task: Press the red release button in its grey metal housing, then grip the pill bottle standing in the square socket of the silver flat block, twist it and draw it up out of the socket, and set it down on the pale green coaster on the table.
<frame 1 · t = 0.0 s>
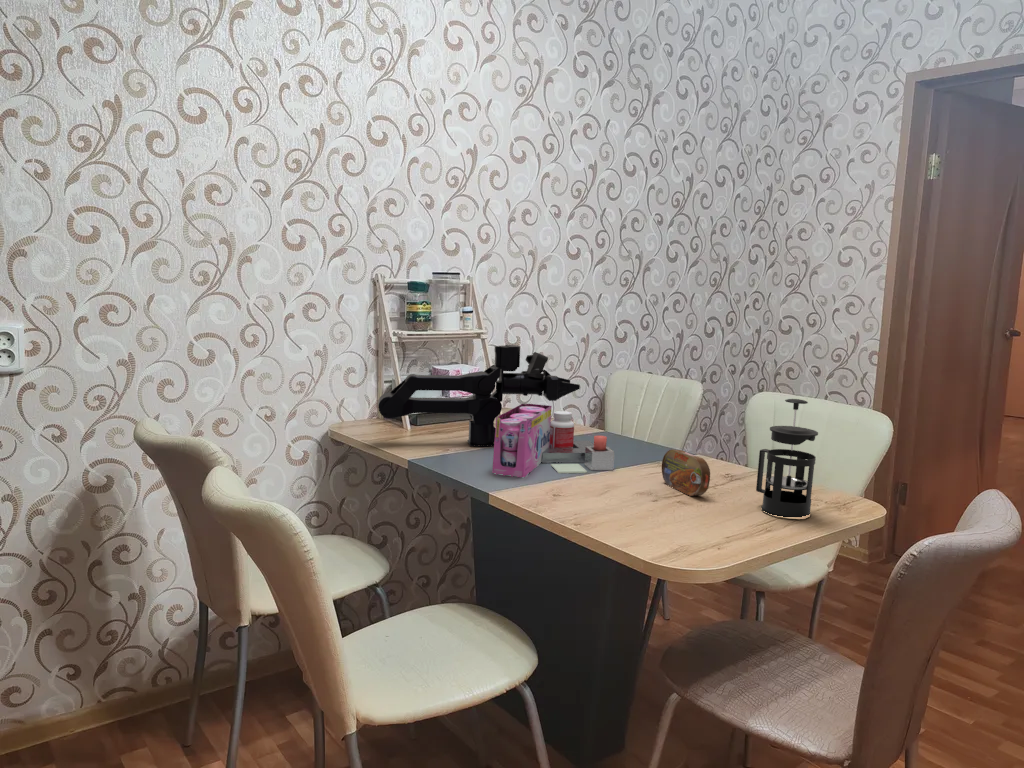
hand: (574, 384, 196), 17 cm above the table, tool horizontal, fingers open, 9 cm apart
pill bottle: (560, 455, 185), resting in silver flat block
housing: (598, 467, 174), on the table
tin: (684, 491, 157), on the table
gum box: (521, 467, 174), on the table, touching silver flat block
button: (600, 442, 173), point 6 cm above the table, slide at 0.0 cm
french press: (783, 512, 144), on the table
pad: (568, 469, 171), on the table
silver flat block: (566, 456, 183), on the table
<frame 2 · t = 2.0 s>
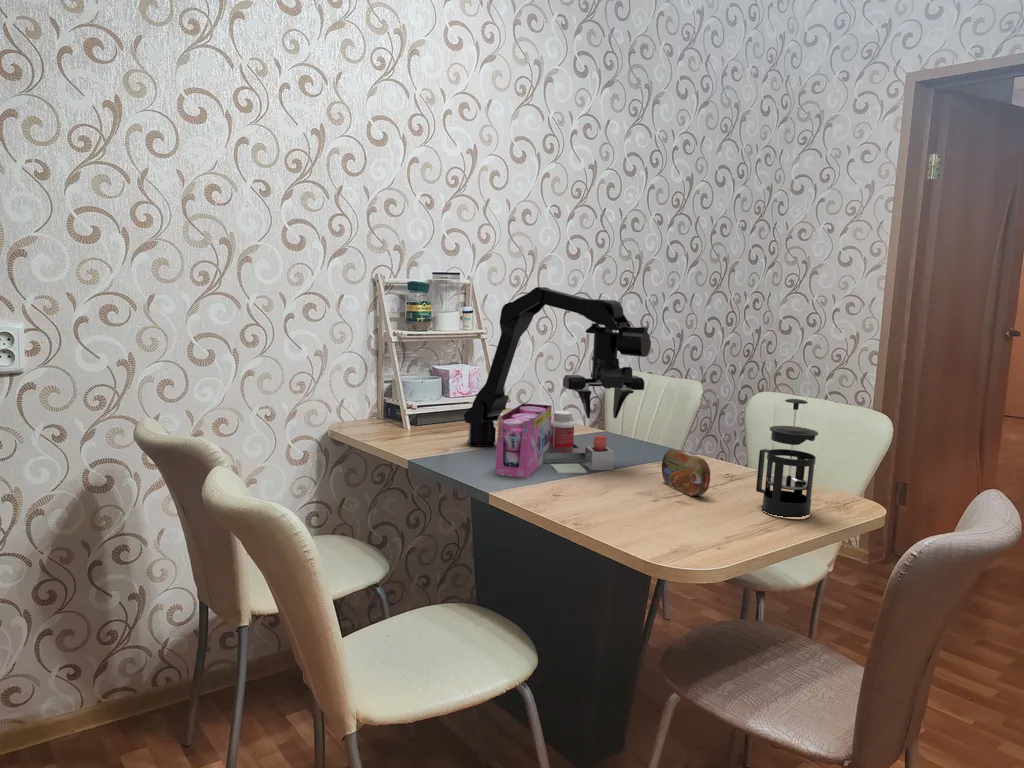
hand: (601, 418, 172), 12 cm above the table, tool pointing down, fingers open, 6 cm apart
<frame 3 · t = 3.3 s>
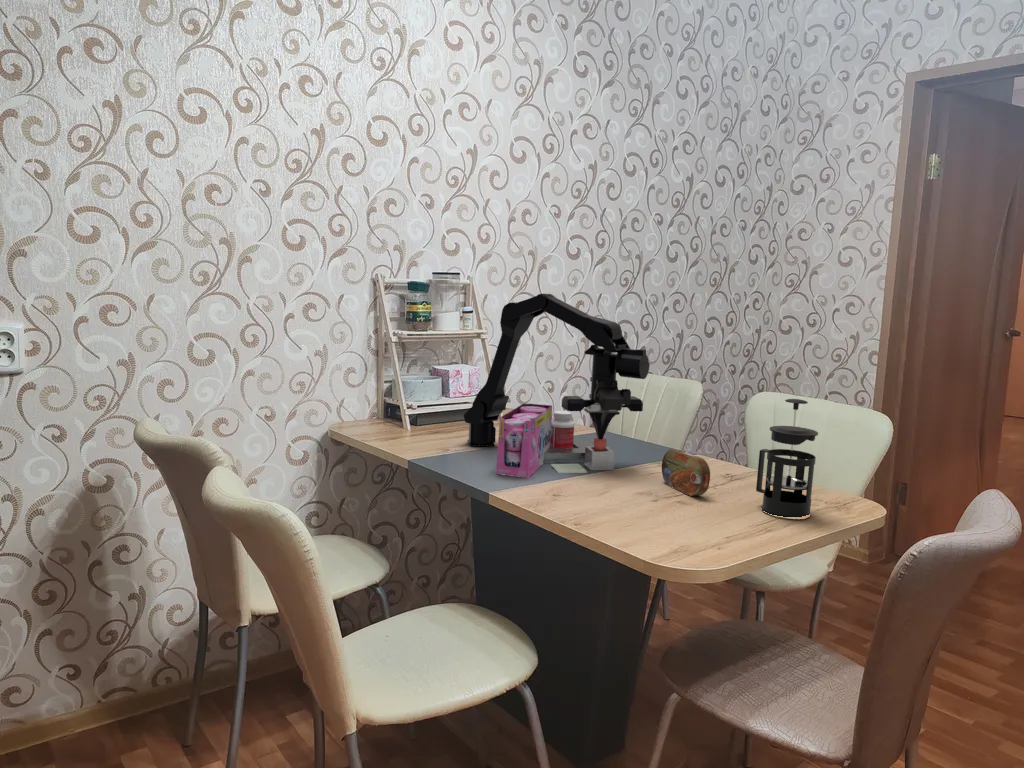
hand: (600, 438, 173), 7 cm above the table, tool pointing down, fingers closed, pressing on button
button: (600, 445, 173), point 5 cm above the table, slide at 0.5 cm, touching gripper
everything else where it was.
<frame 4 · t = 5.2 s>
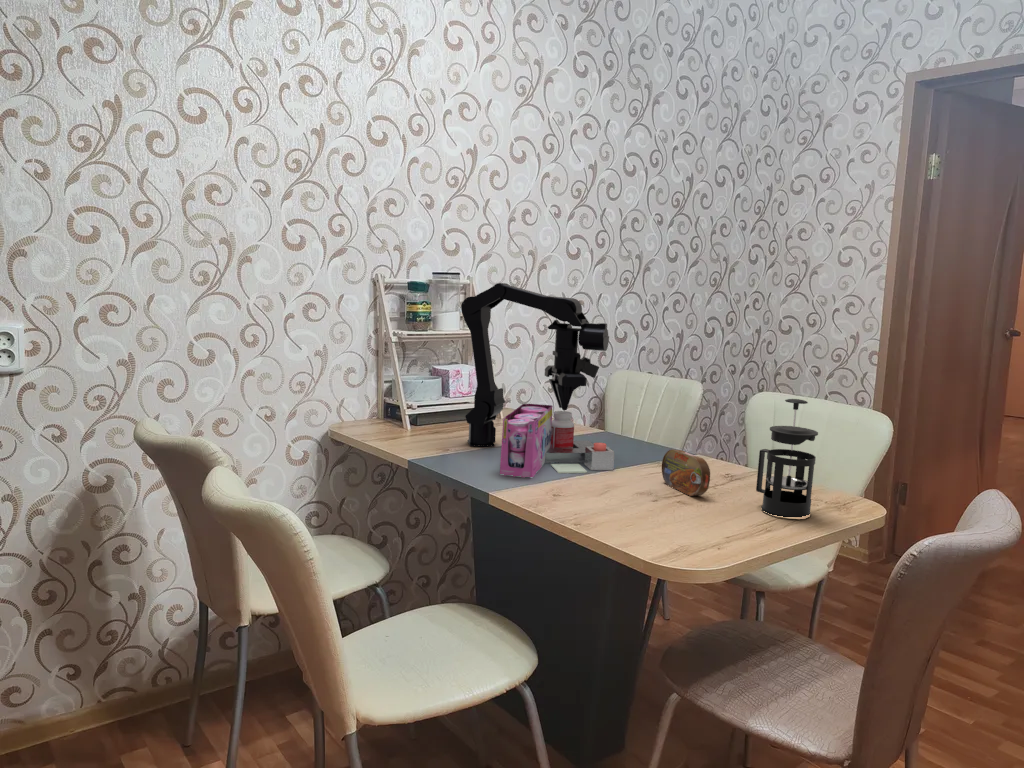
hand: (563, 408, 183), 12 cm above the table, tool pointing down, fingers open, 3 cm apart
button: (599, 450, 173), point 4 cm above the table, slide at 1.7 cm
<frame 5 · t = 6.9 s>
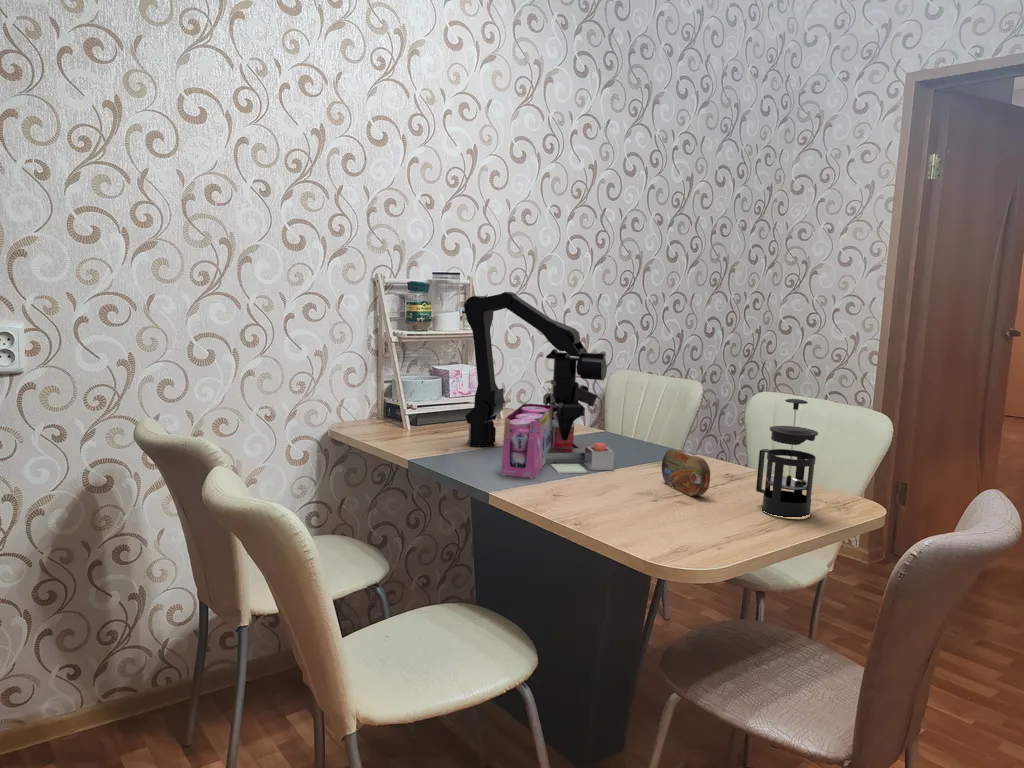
hand: (561, 437, 184), 5 cm above the table, tool pointing down, fingers closed on pill bottle, 6 cm apart
pill bottle: (560, 455, 185), resting in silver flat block, touching gripper
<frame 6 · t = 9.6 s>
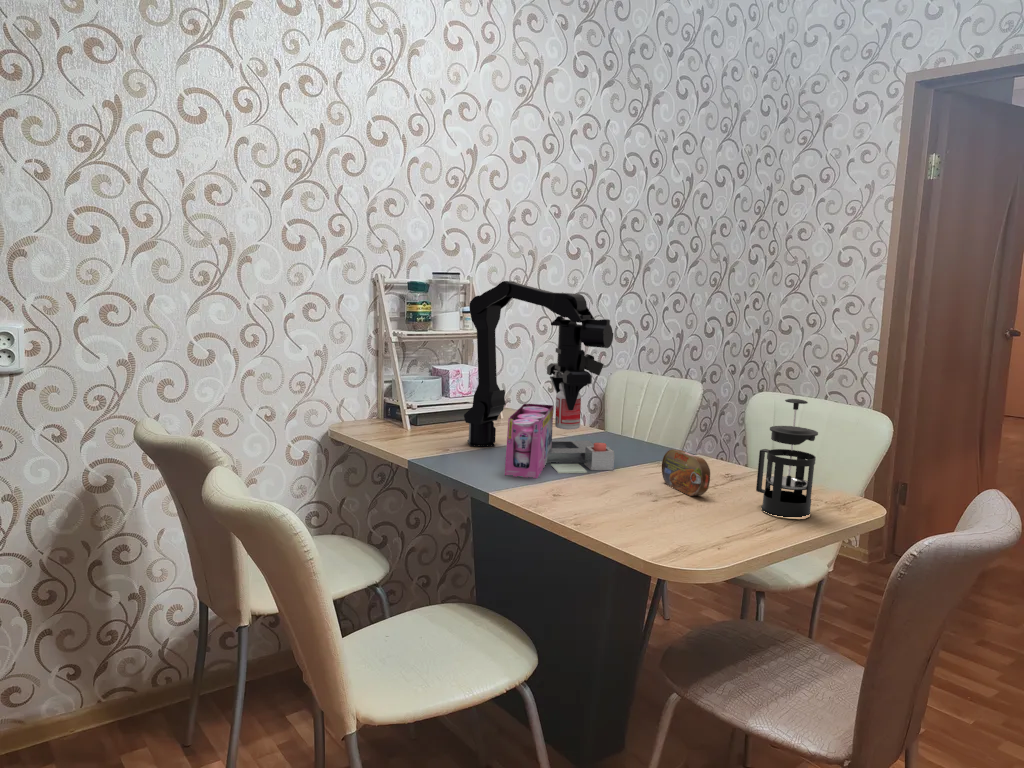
hand: (566, 407, 178), 13 cm above the table, tool pointing down, fingers closed on pill bottle, 6 cm apart
pill bottle: (567, 428, 179), point 8 cm above the table, touching gripper
when the fingers open (6 cm above the table, at t = 12.4 s): pill bottle stays where it is, resting on pad.
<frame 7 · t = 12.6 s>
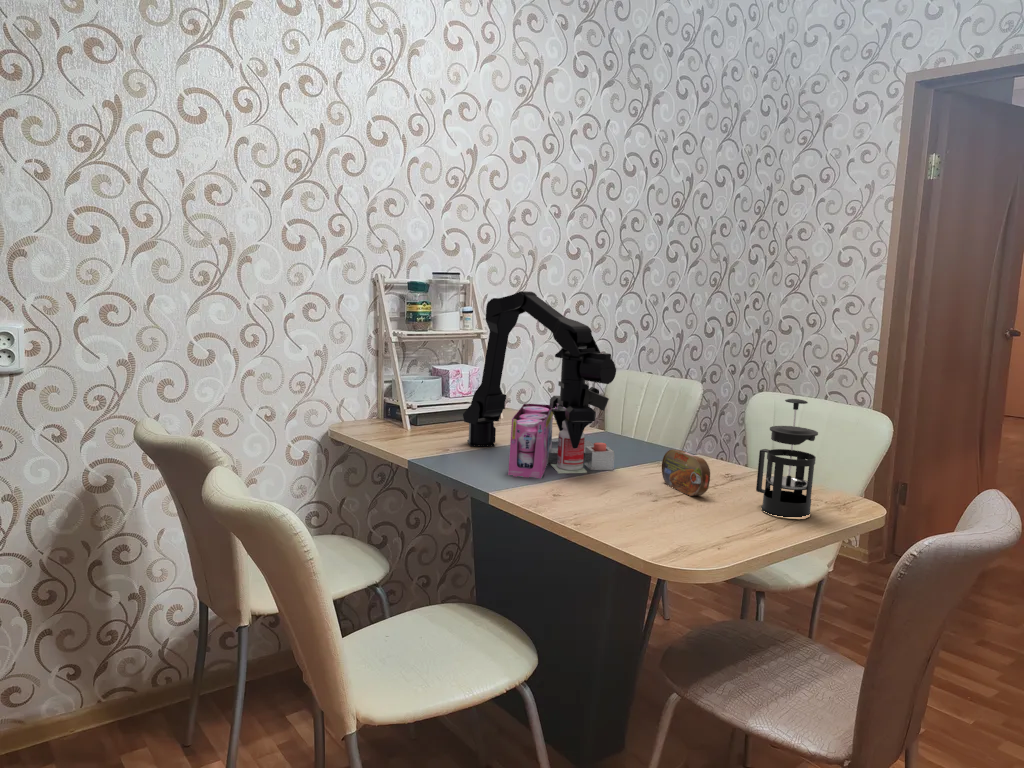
hand: (569, 443, 170), 6 cm above the table, tool pointing down, fingers open, 8 cm apart
pill bottle: (569, 468, 171), resting on pad
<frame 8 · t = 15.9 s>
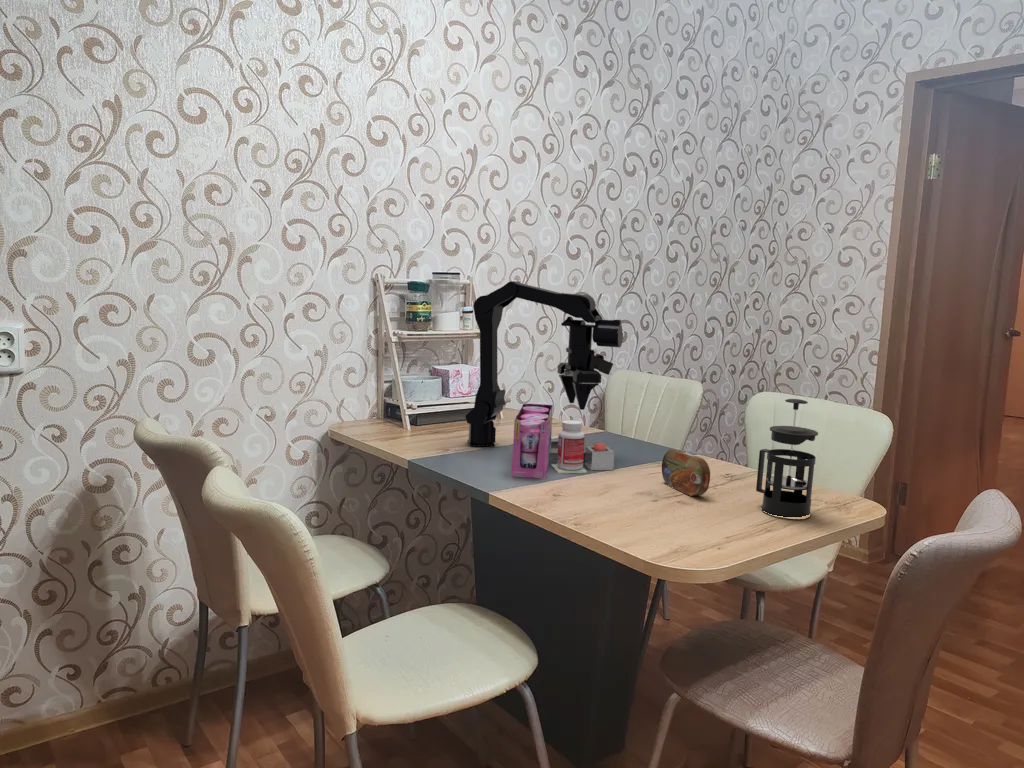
hand: (576, 406, 182), 13 cm above the table, tool pointing down, fingers open, 9 cm apart
at the end: pill bottle inside the target area on the pad (0.3 cm from its centre), point 0.2 cm above the pad's base; pill bottle tilted 0°; button slide at 1.7 cm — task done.
